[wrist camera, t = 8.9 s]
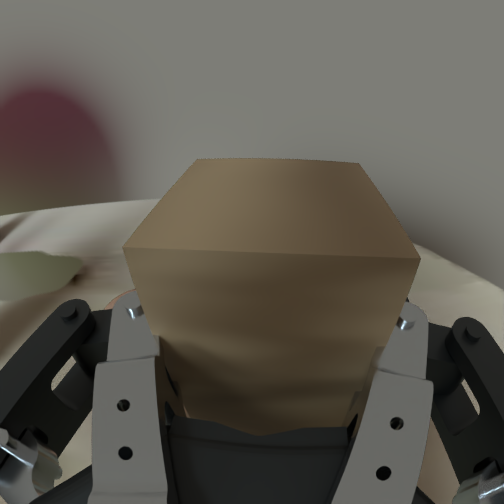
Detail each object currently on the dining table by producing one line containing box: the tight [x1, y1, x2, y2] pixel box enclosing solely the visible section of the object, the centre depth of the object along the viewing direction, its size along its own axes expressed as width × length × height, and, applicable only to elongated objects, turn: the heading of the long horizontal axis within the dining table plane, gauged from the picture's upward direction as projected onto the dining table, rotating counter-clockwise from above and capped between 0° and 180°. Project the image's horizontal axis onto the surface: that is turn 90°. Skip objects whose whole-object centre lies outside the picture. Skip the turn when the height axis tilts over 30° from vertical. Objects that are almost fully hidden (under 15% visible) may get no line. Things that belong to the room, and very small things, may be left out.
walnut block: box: [122, 158, 421, 436], centre depth 9 cm, size 5×5×10 cm
